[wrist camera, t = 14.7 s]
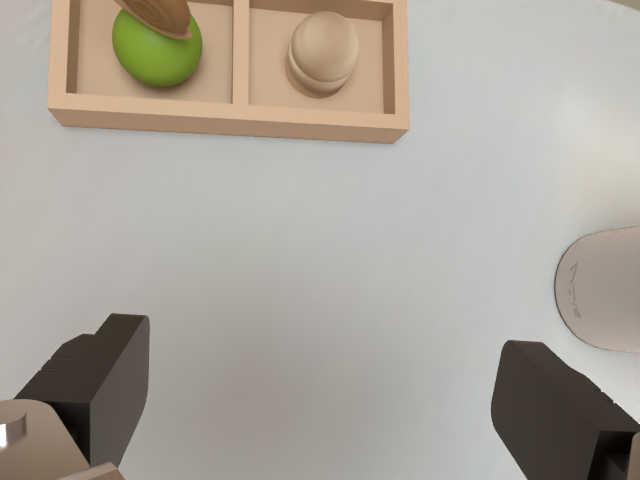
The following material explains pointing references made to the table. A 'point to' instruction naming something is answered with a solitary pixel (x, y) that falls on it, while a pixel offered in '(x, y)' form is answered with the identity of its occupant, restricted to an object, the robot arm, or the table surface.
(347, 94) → the divided tray
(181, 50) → the snail figurine
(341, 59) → the beige domed knob
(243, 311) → the table surface
